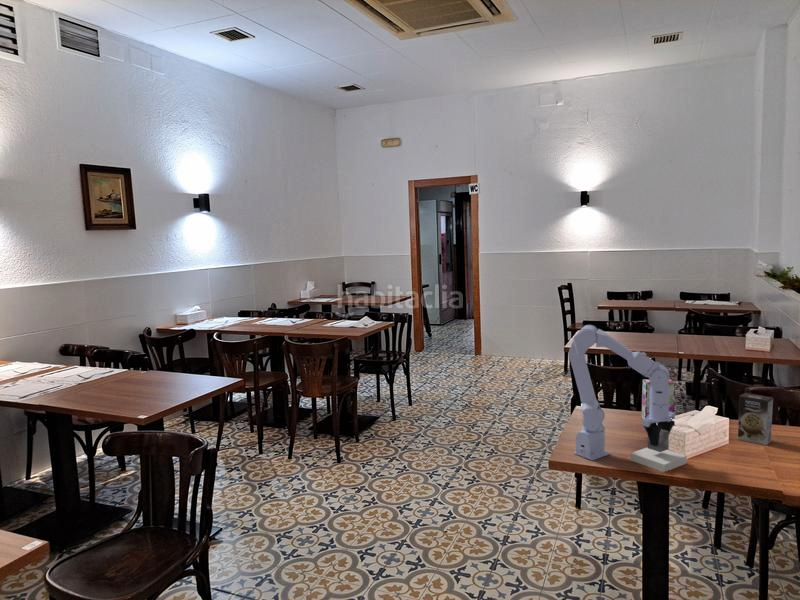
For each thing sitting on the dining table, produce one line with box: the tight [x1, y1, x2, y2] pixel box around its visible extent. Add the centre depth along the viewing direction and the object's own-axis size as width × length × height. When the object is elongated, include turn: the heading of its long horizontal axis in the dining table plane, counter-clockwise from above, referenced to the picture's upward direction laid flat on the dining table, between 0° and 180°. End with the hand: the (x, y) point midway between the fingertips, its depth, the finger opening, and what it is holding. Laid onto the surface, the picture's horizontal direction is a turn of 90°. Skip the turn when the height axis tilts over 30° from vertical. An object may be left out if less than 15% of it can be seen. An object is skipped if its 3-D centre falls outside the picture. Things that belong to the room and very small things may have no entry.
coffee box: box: [737, 392, 774, 446], centre depth 200 cm, size 9×6×16 cm
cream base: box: [630, 446, 688, 473], centre depth 184 cm, size 12×12×2 cm
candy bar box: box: [641, 379, 676, 420], centre depth 224 cm, size 11×5×16 cm, turn 84°
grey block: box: [647, 429, 670, 452], centre depth 184 cm, size 4×4×6 cm
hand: (658, 443), depth 184 cm, fingers closed on grey block, 4 cm apart
